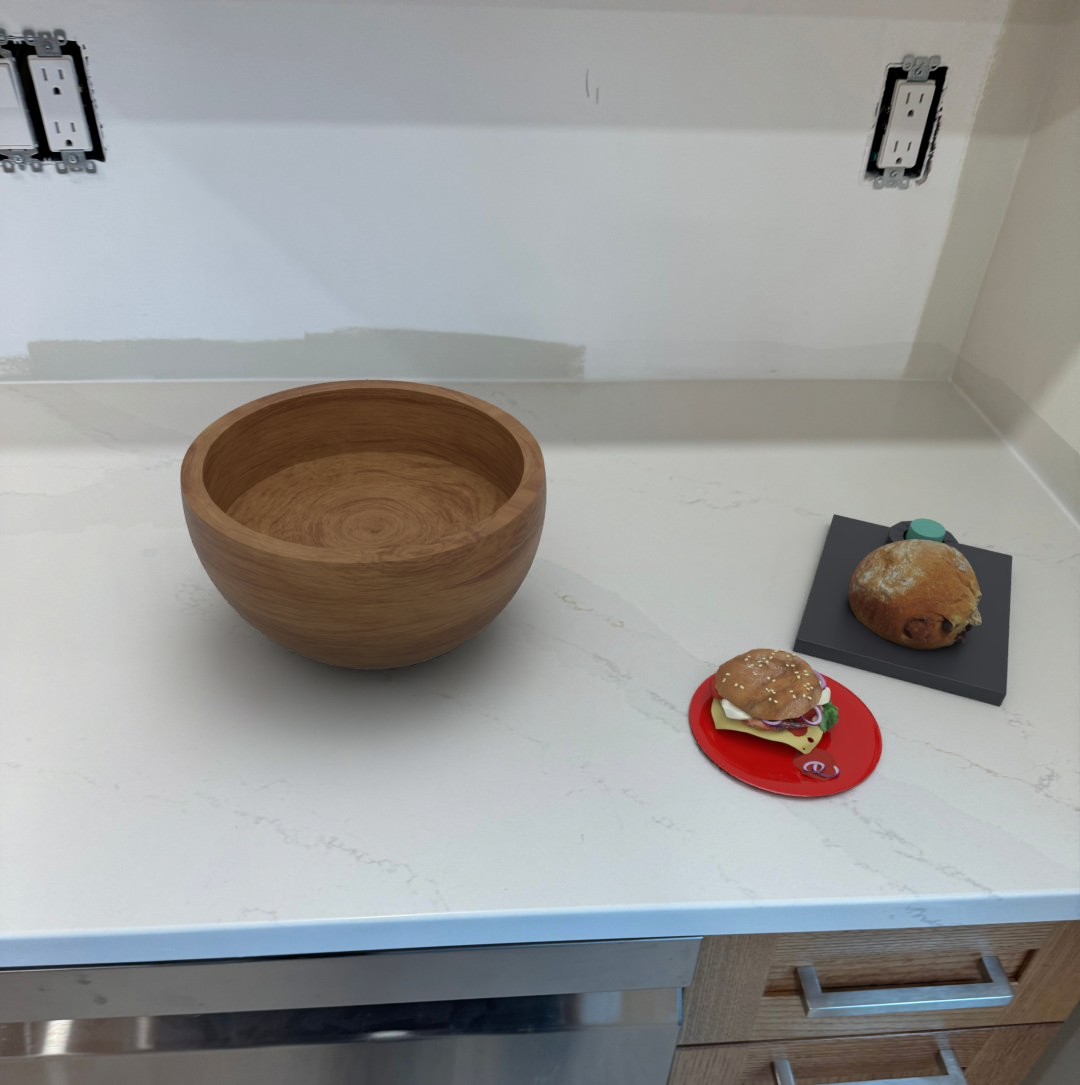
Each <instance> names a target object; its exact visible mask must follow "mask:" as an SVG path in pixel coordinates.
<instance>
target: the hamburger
mask: <svg viewBox="0 0 1080 1085" xmlns="http://www.w3.org/2000/svg"><path fill="white" fill-rule="evenodd" d="M688 717H689V724H690V729H691V730H692V733H693V736H694V738H695V740H696V742H697V744H698V745H699V746H700V748H701V749H702V750H703V752H704V753H705V754H706V755H707V756H708V757H709V759H711V761H713V762H714V763H715V764H716V765H717V766H718V767H720V769H722V770H724V771H725V772H726V773H728V774H730V775H731V776H733V777H735V778H736V779H738V780H740V781H741V782H744V783H746V784H748V785H751V786H753V787H756V788H758V789H761V790H764V791H766V792H771V793H775V794H779V795H785V796H793V797H806V798H807V797H808V798H809V797H823V796H829V795H834V794H838V793H841V792H844V791H847V790H849V789H851V788H854V787H856V786H857V785H859V784H861V783H862V782H863V781H865V780H866V779H867V778H868V777H869V776H870V775H871V774H872V773H873V772H874V770H875V769H876V768H877V766H878V764H879V762H880V760H881V756H882V753H883V752H882V751H883V738H882V732H881V729H880V726H879V724H878V722H877V720H876V718H875V716H874V714H873V712H872V711H871V710H870V709H869V707H868V705H866V703H864V702H863V700H862V699H861V698H860V697H859V696H857V695H856V694H855V693H854V692H853V691H851V689H849V688H848V687H847V686H845V685H843V684H842V683H840V682H838V681H837V680H835V679H833V678H831V677H830V676H827V675H825V674H823V673H820V672H818V671H817V670H815V669H813V668H812V667H811V665H810V664H809V663H808V662H807V661H806V660H804V659H803V658H801V657H799V656H798V653H792V652H791V653H790V652H788V651H787V650H786V651H785V650H784V649H783V648H780V649H772V648H765V647H764V646H762V647H756V648H753V649H750V650H748V651H746V652H744V653H741V654H738V655H736V656H734V657H732V658H731V659H729V660H726V661H725V662H723V663H722V664H720V665H719V666H718V668H717V670H716V672H715V673H713V674H711V675H709V677H707V678H705V680H703V681H702V683H700V685H699V686H698V687H697V688H696V689H695V691H694V693H693V695H692V697H691V700H690V704H689V711H688Z"/></svg>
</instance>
